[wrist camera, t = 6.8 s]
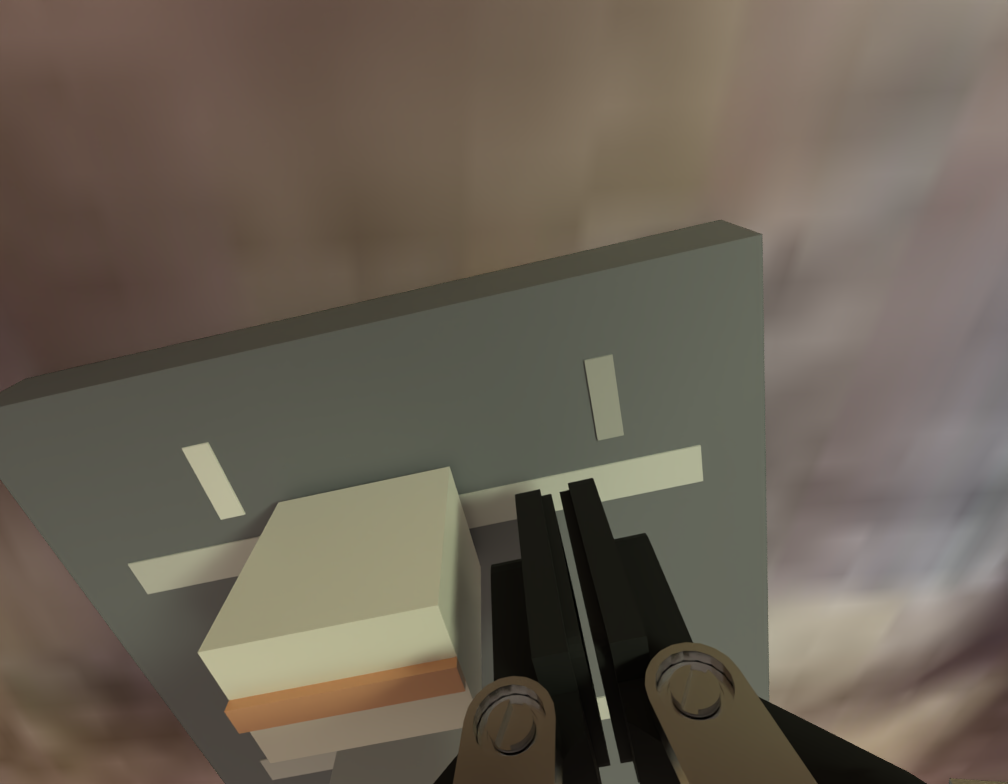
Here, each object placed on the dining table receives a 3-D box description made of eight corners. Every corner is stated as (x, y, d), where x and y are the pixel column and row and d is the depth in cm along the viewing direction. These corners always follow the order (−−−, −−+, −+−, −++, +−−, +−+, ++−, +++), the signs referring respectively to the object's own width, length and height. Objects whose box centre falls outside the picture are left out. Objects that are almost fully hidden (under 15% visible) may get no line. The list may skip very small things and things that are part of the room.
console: (721, 219, 13) (763, 234, 11) (743, 718, 20) (771, 777, 18) (24, 378, 13) (-48, 418, 12) (299, 798, 21) (282, 862, 19)
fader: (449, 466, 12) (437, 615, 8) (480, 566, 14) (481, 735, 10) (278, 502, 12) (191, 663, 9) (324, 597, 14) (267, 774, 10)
